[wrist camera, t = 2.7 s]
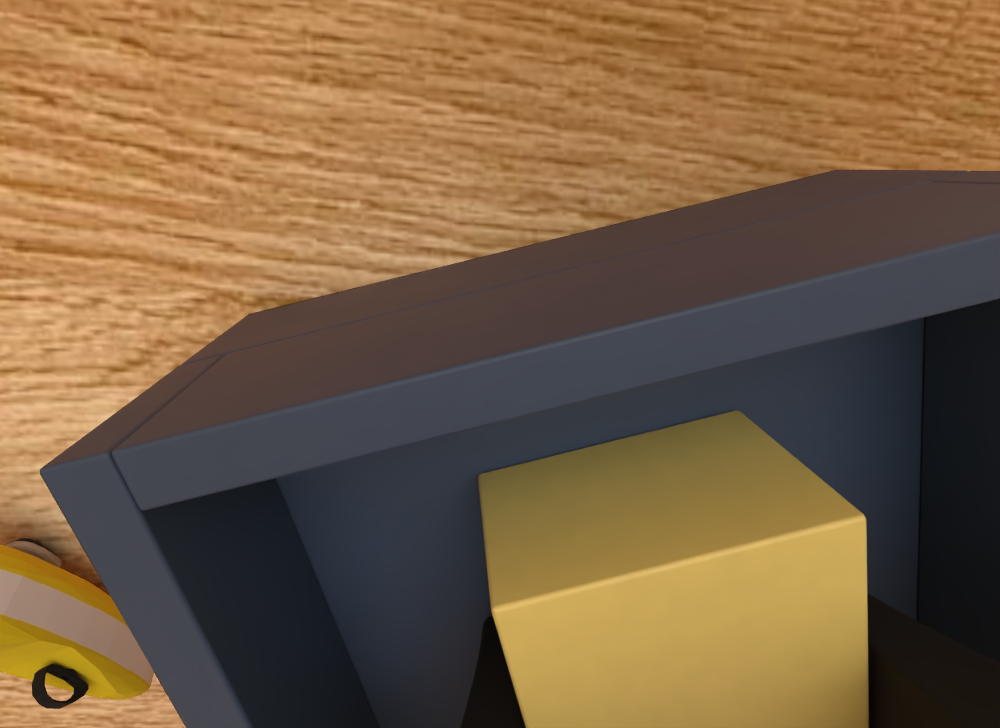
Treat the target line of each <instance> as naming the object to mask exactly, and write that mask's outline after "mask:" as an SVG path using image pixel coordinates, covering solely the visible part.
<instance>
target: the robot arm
mask: <svg viewBox="0 0 1000 728" xmlns="http://www.w3.org/2000/svg"><path fill="white" fill-rule="evenodd" d="M867 607H868V684H869V728H1000V662H998V661H996V660H993V659H991V658H989V657H987V656H985V655H982V654H980V653H978V652H976V651H974V650H972V649H970V648H968V647H966V646H964V645H962V644H960V643H958V642H956V641H954V640H952V639H950V638H948V637H946V636H944V635H943V634H941V633H939V632H937V631H935V630H933V629H931V628H929V627H927V626H925V625H923V624H921V623H920V622H918V621H916V620H914V619H912V618H910V617H909V616H907V615H905V614H903V613H901V612H900V611H898V610H896V609H894V608H892V607H891V606H889V605H887V604H886V603H884V602H882V601H880V600H879V599H877V598H875V597H873V596H872V595H870V594H868V593H867ZM460 728H526V727H525V724H524V720H523V717H522V713H521V710H520V707H519V703H518V700H517V697H516V693H515V690H514V686H513V683H512V680H511V676H510V673H509V669H508V666H507V663H506V659H505V656H504V653H503V649H502V646H501V642H500V639H499V636H498V632H497V629H496V626H495V622H494V619H493V616H492V617H488V618H487V619H486V620H485V621H484V623H483V629H482V638H481V644H480V650H479V655H478V661H477V665H476V670H475V674H474V679H473V683H472V687H471V690H470V694H469V698H468V702H467V706H466V710H465V713H464V717H463V720H462V724H461V727H460Z"/></svg>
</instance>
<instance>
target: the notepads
mask: <svg viewBox="0 0 1000 728" xmlns="http://www.w3.org/2000/svg"><path fill="white" fill-rule="evenodd" d="M478 484H479V494H480V504H481V514H482V524H483V534H484V544H485V554H486V564H487V574H488V584H489V594H490V604H491V612H492V615H493V619H494V622H495V626H496V629H497V632H498V636H499V639H500V642H501V646H502V649H503V653H504V656H505V659H506V663H507V666H508V669H509V673H510V676H511V680H512V683H513V686H514V690H515V693H516V697H517V700H518V703H519V707H520V710H521V713H522V717H523V720H524V724H525V727H526V728H869V684H868V607H867V530H866V518H865V516H864V514H863V513H861V512H860V511H859V510H858V509H857V508H855V507H854V506H853V505H852V504H851V503H849V502H848V501H847V500H846V499H845V498H843V497H842V496H841V495H840V494H839V493H837V492H836V491H835V490H834V489H833V488H831V487H830V486H829V485H828V484H827V483H825V482H824V481H823V480H822V479H821V478H819V477H818V476H817V475H816V474H815V473H813V472H812V471H811V470H810V469H809V468H807V467H806V466H805V465H804V464H803V463H801V462H800V461H799V460H798V459H797V458H795V457H794V456H793V455H792V454H791V453H789V452H788V451H787V450H786V449H785V448H783V447H782V446H781V445H780V444H779V443H777V442H776V441H775V440H774V439H773V438H771V437H770V436H769V435H768V434H767V433H765V432H764V431H763V430H762V429H761V428H759V427H758V426H757V425H756V424H755V423H753V422H752V421H751V420H750V419H749V418H747V417H746V416H745V415H744V414H743V413H741V412H740V411H736V410H735V411H731V412H727V413H723V414H719V415H715V416H711V417H707V418H703V419H699V420H695V421H691V422H687V423H683V424H679V425H675V426H671V427H667V428H663V429H659V430H655V431H651V432H647V433H643V434H639V435H635V436H631V437H626V438H622V439H618V440H614V441H610V442H606V443H602V444H598V445H594V446H590V447H586V448H582V449H578V450H574V451H570V452H566V453H562V454H558V455H554V456H550V457H546V458H542V459H538V460H534V461H530V462H526V463H522V464H518V465H514V466H510V467H506V468H502V469H498V470H494V471H490V472H486V473H482V474H480V475H479V476H478Z"/></svg>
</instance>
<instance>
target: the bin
mask: <svg viewBox="0 0 1000 728" xmlns="http://www.w3.org/2000/svg"><path fill="white" fill-rule="evenodd" d="M735 410H736V411H740V412H741V413H743V414H744V415H745V416H746V417H747V418H749V419H750V420H751V421H752V422H753V423H755V424H756V425H757V426H758V427H759V428H761V429H762V430H763V431H764V432H765V433H767V434H768V435H769V436H770V437H771V438H773V439H774V440H775V441H776V442H777V443H779V444H780V445H781V446H782V447H783V448H785V449H786V450H787V451H788V452H789V453H791V454H792V455H793V456H794V457H795V458H797V459H798V460H799V461H800V462H801V463H803V464H804V465H805V466H806V467H807V468H809V469H810V470H811V471H812V472H813V473H815V474H816V475H817V476H818V477H819V478H821V479H822V480H823V481H824V482H825V483H827V484H828V485H829V486H830V487H831V488H833V489H834V490H835V491H836V492H837V493H839V494H840V495H841V496H842V497H843V498H845V499H846V500H847V501H848V502H849V503H851V504H852V505H853V506H854V507H855V508H857V509H858V510H859V511H860V512H861V513H863V514H864V516H865V518H866V530H867V593H868V594H870V595H872V596H873V597H875V598H877V599H879V600H880V601H882V602H884V603H886V604H887V605H889V606H891V607H892V608H894V609H896V610H898V611H900V612H901V613H903V614H905V615H907V616H909V617H910V618H912V619H914V620H916V621H918V622H920V623H921V624H923V625H925V626H927V627H929V628H931V629H933V630H935V631H937V632H939V633H941V634H943V635H944V636H946V637H948V638H950V639H952V640H954V641H956V642H958V643H960V644H962V645H964V646H966V647H968V648H970V649H972V650H974V651H976V652H978V653H980V654H982V655H985V656H987V657H989V658H991V659H993V660H996V661H998V662H1000V171H970V172H968V171H920V170H834V171H830V172H826V173H822V174H818V175H814V176H810V177H806V178H802V179H798V180H794V181H790V182H786V183H781V184H777V185H773V186H769V187H765V188H761V189H757V190H753V191H749V192H745V193H741V194H737V195H733V196H729V197H724V198H720V199H716V200H712V201H708V202H704V203H700V204H696V205H692V206H688V207H684V208H680V209H676V210H671V211H667V212H663V213H659V214H655V215H651V216H647V217H643V218H639V219H635V220H631V221H627V222H623V223H618V224H614V225H610V226H606V227H602V228H598V229H594V230H590V231H586V232H582V233H578V234H574V235H570V236H565V237H561V238H557V239H553V240H549V241H545V242H541V243H537V244H533V245H529V246H525V247H521V248H517V249H513V250H508V251H504V252H500V253H496V254H492V255H488V256H484V257H480V258H476V259H472V260H468V261H464V262H460V263H455V264H451V265H447V266H443V267H439V268H435V269H431V270H427V271H423V272H419V273H415V274H411V275H407V276H402V277H398V278H394V279H390V280H386V281H382V282H378V283H374V284H370V285H366V286H362V287H358V288H354V289H350V290H345V291H341V292H337V293H333V294H329V295H325V296H321V297H317V298H313V299H309V300H305V301H301V302H297V303H292V304H288V305H284V306H280V307H276V308H272V309H268V310H264V311H260V312H256V313H252V314H249V315H247V316H246V317H245V318H243V319H242V320H241V321H239V322H238V323H237V324H235V325H234V326H233V327H231V328H230V329H229V330H227V331H226V332H224V333H223V334H222V335H220V336H219V337H218V338H216V339H215V340H214V341H212V342H211V343H210V344H208V345H207V346H206V347H204V348H203V349H202V350H200V351H199V352H198V353H196V354H195V355H194V356H192V357H191V358H190V359H188V360H187V361H186V362H184V363H183V364H182V365H180V366H178V367H177V368H176V369H174V370H173V371H172V372H170V373H169V374H168V375H166V376H165V377H164V378H162V379H161V380H160V381H158V382H157V383H156V384H154V385H153V386H152V387H150V388H149V389H147V390H146V391H145V392H143V393H142V394H141V395H139V396H138V397H137V398H135V399H134V400H133V401H131V402H130V403H129V404H127V405H126V406H125V407H123V408H122V409H121V410H119V411H118V412H117V413H115V414H114V415H112V416H111V417H110V418H108V419H107V420H106V421H104V422H103V423H102V424H100V425H99V426H98V427H96V428H95V429H94V430H92V431H91V432H90V433H88V434H87V435H86V436H84V437H83V438H82V439H80V440H79V441H77V442H76V443H75V444H73V445H72V446H71V447H69V448H68V449H67V450H65V451H64V452H63V453H61V454H60V455H59V456H57V457H56V458H55V459H53V460H52V461H51V462H49V463H48V464H47V465H45V466H44V467H43V468H41V470H40V475H41V476H42V478H43V480H44V482H45V483H46V485H47V487H48V488H49V490H50V492H51V494H52V495H53V497H54V499H55V501H56V502H57V504H58V506H59V508H60V509H61V511H62V513H63V515H64V516H65V518H66V520H67V521H68V523H69V525H70V527H71V528H72V530H73V532H74V534H75V535H76V537H77V539H78V541H79V542H80V544H81V546H82V548H83V549H84V551H85V553H86V555H87V556H88V558H89V560H90V561H91V563H92V565H93V567H94V568H95V570H96V572H97V574H98V575H99V577H100V579H101V581H102V582H103V584H104V586H105V588H106V589H107V591H108V593H109V594H110V596H111V598H112V600H113V601H114V603H115V605H116V607H117V608H118V610H119V612H120V614H121V615H122V617H123V619H124V621H125V622H126V624H127V626H128V627H129V629H130V631H131V633H132V634H133V636H134V638H135V640H136V641H137V643H138V645H139V647H140V648H141V650H142V652H143V654H144V655H145V657H146V659H147V660H148V662H149V664H150V666H151V667H152V669H153V671H154V673H155V674H156V676H157V678H158V680H159V681H160V683H161V685H162V687H163V688H164V690H165V692H166V693H167V695H168V697H169V699H170V700H171V702H172V704H173V706H174V707H175V709H176V711H177V713H178V714H179V716H180V718H181V720H182V721H183V723H184V725H185V726H186V728H460V727H461V724H462V720H463V717H464V713H465V710H466V706H467V702H468V698H469V694H470V690H471V687H472V683H473V679H474V674H475V670H476V665H477V661H478V655H479V650H480V644H481V638H482V629H483V623H484V621H485V620H486V619H487V618H488V617H492V616H493V615H492V612H491V604H490V594H489V584H488V574H487V564H486V554H485V544H484V534H483V524H482V514H481V504H480V494H479V484H478V476H479V475H480V474H482V473H486V472H490V471H494V470H498V469H502V468H506V467H510V466H514V465H518V464H522V463H526V462H530V461H534V460H538V459H542V458H546V457H550V456H554V455H558V454H562V453H566V452H570V451H574V450H578V449H582V448H586V447H590V446H594V445H598V444H602V443H606V442H610V441H614V440H618V439H622V438H626V437H631V436H635V435H639V434H643V433H647V432H651V431H655V430H659V429H663V428H667V427H671V426H675V425H679V424H683V423H687V422H691V421H695V420H699V419H703V418H707V417H711V416H715V415H719V414H723V413H727V412H731V411H735Z"/></svg>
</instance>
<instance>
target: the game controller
mask: <svg viewBox="0 0 1000 728" xmlns="http://www.w3.org/2000/svg"><path fill="white" fill-rule="evenodd" d="M61 565H62V562H61V560H60V559H59V558H58V557H57V556H56V555H54V554H53V553H51V552H50V551H49V550H47V549H46V548H44V547H43V546H42V545H41V544H40V543H39V542H38V541H37V540H35V539H33V538H29V537H24V538H21V539H18V540H15V541H13V542H10V543H8V544H6V545H5V546H4V545H1V544H0V672H3V673H7V674H10V675H14V676H18V677H21V678H25V679H29V680H32V681H33V682H32V694H33V697H34V698H35V699H36V701H37V702H38V703H39V704H40V705H42V706H43V707H45V708H53V709H60V708H62V707H64V706H66V705H69V704H71V703H73V702H75V701H76V700H78V699H79V698H81V697H82V696H84V695H89V696H93V697H97V698H104V699H127V698H131V697H134V696H138V695H141V694H142V693H144V692H145V691H146V690H148V689H149V688H150V685H151V681H152V677H153V674H154V671H153V669H152V667H151V666H150V664H149V662H148V660H147V659H146V657H145V655H144V654H143V652H142V650H141V648H140V647H139V645H138V643H137V641H136V640H135V638H134V636H133V634H132V633H131V631H130V629H129V627H128V626H127V624H126V622H125V621H124V619H123V617H122V615H121V614H120V612H119V610H118V608H117V607H116V605H115V603H114V601H113V600H112V598H111V596H110V595H108V594H107V593H105V592H104V591H102V590H101V589H99V588H98V587H96V586H94V585H93V584H91V583H90V582H88V581H86V580H84V579H82V578H80V577H78V576H76V575H74V574H71V573H69V572H67V571H65V570H63V569H61V568H60V567H61ZM45 684H47V685H51V686H54V687H58V688H62V689H66V690H70V691H74V694H73V695H72V697H71V698H70V699H69V700H67V701H57V700H54V699H52V698H51V697H50V696H49V695H47V692H46V688H45Z"/></svg>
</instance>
